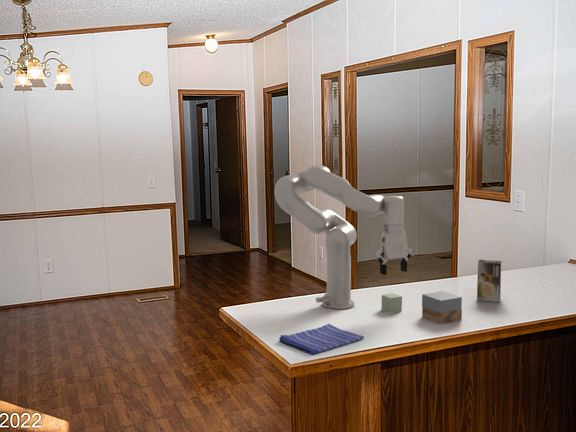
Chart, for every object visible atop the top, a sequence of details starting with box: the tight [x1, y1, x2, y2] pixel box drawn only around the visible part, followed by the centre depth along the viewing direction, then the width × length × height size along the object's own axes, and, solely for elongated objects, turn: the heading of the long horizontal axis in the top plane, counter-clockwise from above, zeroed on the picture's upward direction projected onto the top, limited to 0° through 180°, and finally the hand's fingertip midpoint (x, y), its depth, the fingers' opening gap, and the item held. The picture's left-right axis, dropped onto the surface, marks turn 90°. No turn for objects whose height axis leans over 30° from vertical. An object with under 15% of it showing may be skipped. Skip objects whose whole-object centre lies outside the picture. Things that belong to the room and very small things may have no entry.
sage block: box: [380, 292, 403, 314], centre depth 238 cm, size 6×6×6 cm
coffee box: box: [476, 259, 502, 303], centre depth 253 cm, size 9×6×16 cm
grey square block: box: [421, 290, 463, 313], centre depth 227 cm, size 10×10×4 cm
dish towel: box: [278, 323, 365, 356], centre depth 203 cm, size 17×24×3 cm
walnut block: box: [421, 305, 463, 325], centre depth 227 cm, size 10×10×4 cm
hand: (393, 272), depth 236 cm, fingers open, 9 cm apart
